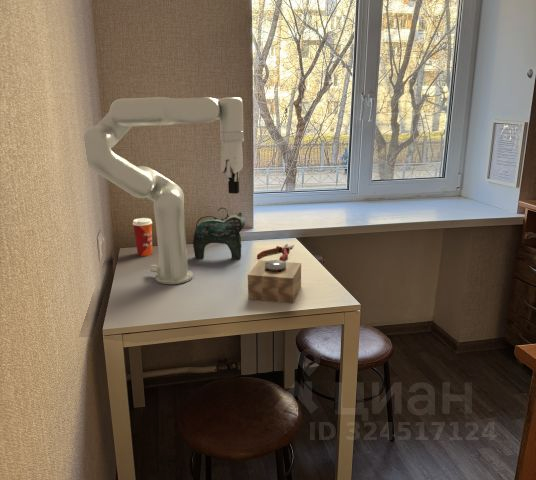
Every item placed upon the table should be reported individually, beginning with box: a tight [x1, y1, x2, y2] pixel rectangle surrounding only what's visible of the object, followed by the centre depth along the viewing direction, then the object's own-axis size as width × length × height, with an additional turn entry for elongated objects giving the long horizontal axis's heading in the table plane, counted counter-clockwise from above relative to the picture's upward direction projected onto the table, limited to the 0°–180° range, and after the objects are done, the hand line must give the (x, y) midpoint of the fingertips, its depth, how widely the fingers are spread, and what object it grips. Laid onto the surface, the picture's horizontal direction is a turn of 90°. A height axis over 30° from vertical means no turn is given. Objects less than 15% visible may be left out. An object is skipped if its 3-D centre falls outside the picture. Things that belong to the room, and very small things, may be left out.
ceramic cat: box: [192, 207, 246, 260], centre depth 187 cm, size 20×6×20 cm, turn 84°
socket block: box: [247, 259, 302, 304], centre depth 155 cm, size 14×14×8 cm
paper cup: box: [132, 217, 153, 257], centre depth 194 cm, size 8×8×14 cm
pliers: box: [256, 243, 295, 262], centre depth 195 cm, size 11×20×3 cm, turn 153°
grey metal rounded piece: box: [265, 259, 287, 272], centre depth 155 cm, size 7×7×9 cm
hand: (234, 192), depth 164 cm, fingers closed
